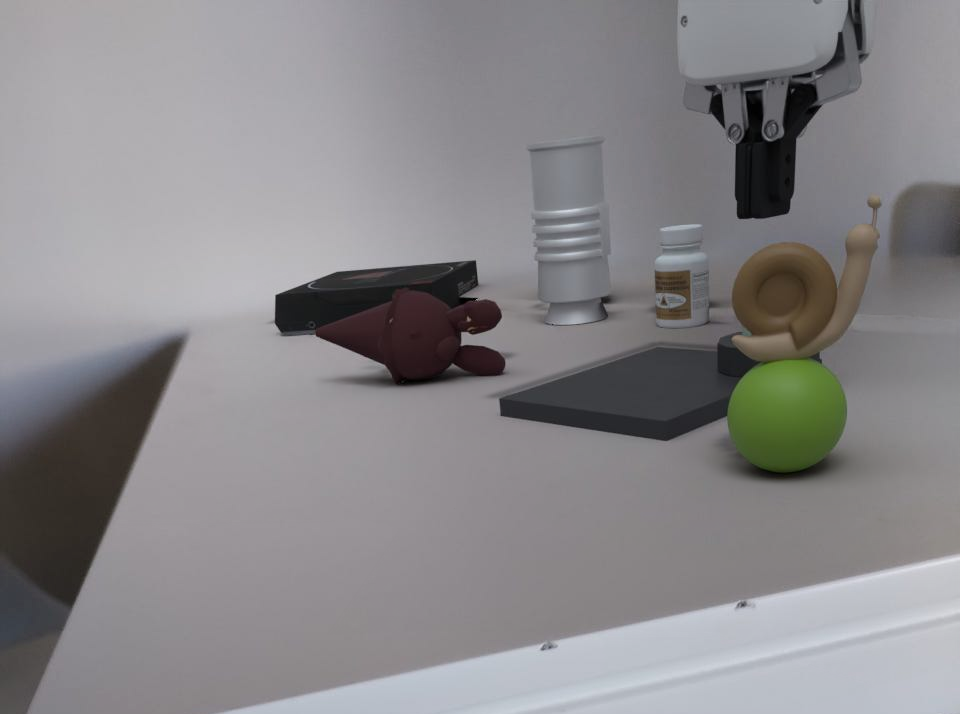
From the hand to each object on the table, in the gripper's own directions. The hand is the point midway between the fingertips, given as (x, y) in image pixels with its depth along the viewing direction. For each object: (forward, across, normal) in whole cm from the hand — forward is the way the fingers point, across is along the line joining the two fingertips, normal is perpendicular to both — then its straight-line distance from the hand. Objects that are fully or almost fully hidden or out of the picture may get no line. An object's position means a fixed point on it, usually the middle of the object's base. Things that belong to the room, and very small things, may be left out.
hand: (763, 215), depth 61 cm
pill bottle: (+10, +18, -17) cm, 27 cm away
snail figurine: (+10, -11, +13) cm, 20 cm away
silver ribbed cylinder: (+10, +30, -17) cm, 36 cm away
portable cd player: (+10, +54, -13) cm, 57 cm away
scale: (+10, +4, +4) cm, 12 cm away
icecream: (+11, +25, +7) cm, 28 cm away
